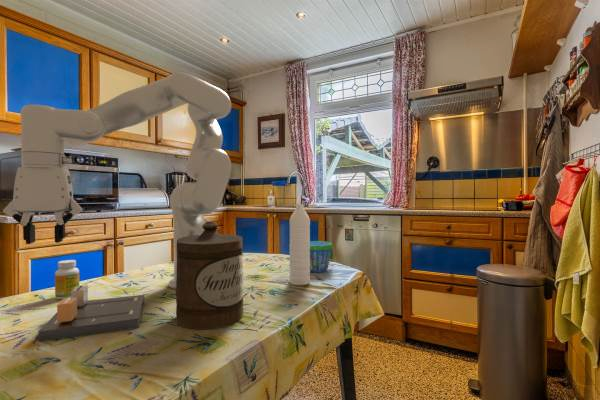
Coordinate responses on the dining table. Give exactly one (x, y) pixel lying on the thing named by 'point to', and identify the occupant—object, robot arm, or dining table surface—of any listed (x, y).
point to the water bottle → (300, 246)
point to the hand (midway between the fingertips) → (44, 241)
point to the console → (97, 318)
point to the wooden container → (209, 279)
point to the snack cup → (320, 256)
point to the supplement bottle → (66, 279)
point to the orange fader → (67, 310)
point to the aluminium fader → (80, 294)
